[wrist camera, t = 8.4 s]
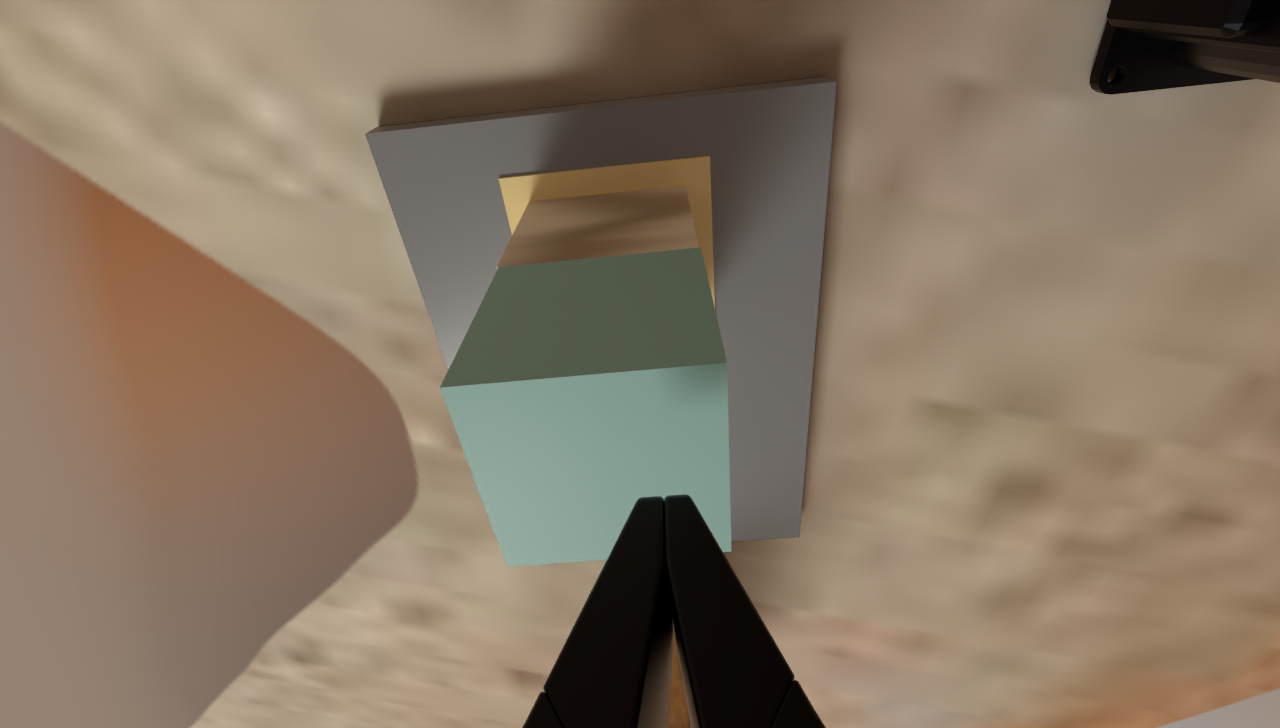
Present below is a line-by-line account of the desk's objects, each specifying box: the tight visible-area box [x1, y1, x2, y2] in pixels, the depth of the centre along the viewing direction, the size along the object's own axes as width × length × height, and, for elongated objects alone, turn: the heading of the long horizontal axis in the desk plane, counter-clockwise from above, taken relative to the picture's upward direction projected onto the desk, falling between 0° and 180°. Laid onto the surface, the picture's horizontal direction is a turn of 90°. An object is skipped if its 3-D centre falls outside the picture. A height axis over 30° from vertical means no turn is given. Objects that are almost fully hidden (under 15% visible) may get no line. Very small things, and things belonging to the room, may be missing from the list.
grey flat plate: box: [365, 77, 837, 542], centre depth 23 cm, size 14×20×1 cm
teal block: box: [440, 247, 732, 567], centre depth 13 cm, size 5×5×5 cm
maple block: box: [497, 186, 699, 269], centre depth 17 cm, size 5×5×5 cm
